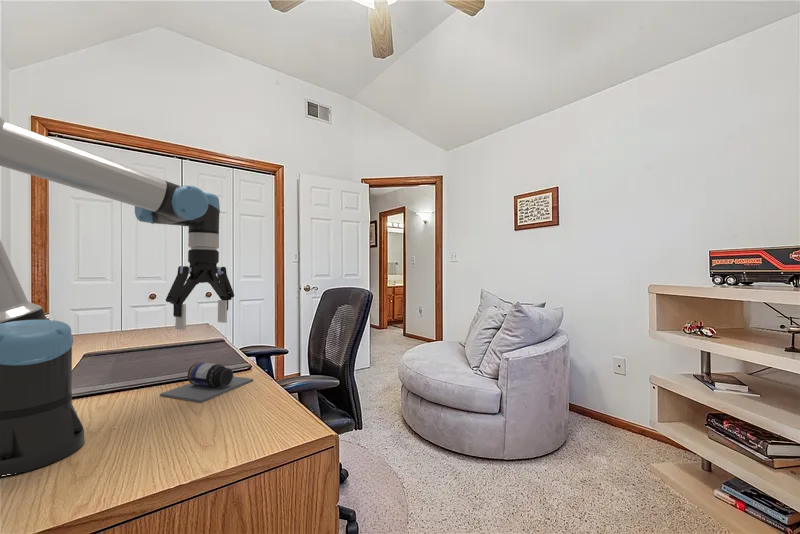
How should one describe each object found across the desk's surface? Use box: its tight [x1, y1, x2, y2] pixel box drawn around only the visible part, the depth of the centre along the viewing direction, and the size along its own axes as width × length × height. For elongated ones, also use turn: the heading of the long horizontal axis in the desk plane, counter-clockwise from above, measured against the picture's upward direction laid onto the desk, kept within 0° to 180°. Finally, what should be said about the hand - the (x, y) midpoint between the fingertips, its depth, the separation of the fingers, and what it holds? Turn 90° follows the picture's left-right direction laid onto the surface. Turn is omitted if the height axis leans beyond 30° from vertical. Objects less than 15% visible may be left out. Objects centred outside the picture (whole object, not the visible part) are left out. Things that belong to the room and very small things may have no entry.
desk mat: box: [159, 375, 254, 404], centre depth 100 cm, size 18×14×1 cm
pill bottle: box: [187, 361, 234, 388], centre depth 99 cm, size 6×6×11 cm
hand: (202, 325), depth 100 cm, fingers open, 13 cm apart
